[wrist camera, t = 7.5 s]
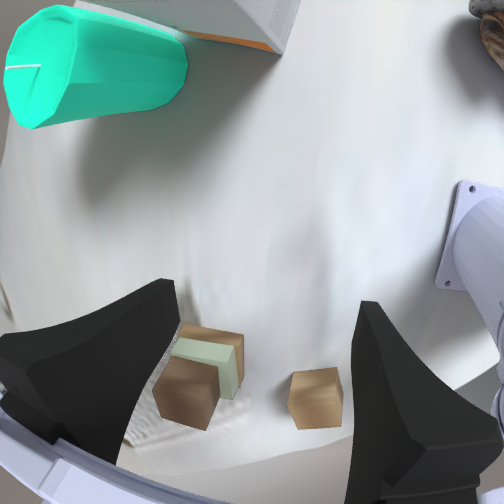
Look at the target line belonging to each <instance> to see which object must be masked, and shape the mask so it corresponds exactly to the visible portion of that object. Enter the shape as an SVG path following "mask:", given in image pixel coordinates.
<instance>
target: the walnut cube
mask: <svg viewBox="0 0 504 504" xmlns="http://www.w3.org/2000/svg"><path fill="white" fill-rule="evenodd" d="M152 392H153V395H154V398H155V401H156V404H157V407H158V410H159V412H160V415H161V417H162V418H165V419H168V420H171V421H174V422H177V423H180V424H183V425H187V426H190V427H193V428H197V429H200V430H204V431H206V429H207V427H208V424H209V422H210V420H211V417H212V415H213V412H214V410H215V407H216V405H217V402H218V400H219V398H220V385H219V372H218V367H217V366H213V365H208V364H204V363H200V362H196V361H192V360H188V359H184V358H180V357H176V356H172V357H171V359H170V361H169V362H168V364H167V366H166V367H165V369H164V371H163V372H162V374H161V376H160V377H159V379H158V381H157V382H156V384H155V386H154V387H153V389H152Z"/></svg>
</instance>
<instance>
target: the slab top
mask: <svg viewBox="0 0 504 504" xmlns="http://www.w3.org/2000/svg"><path fill="white" fill-rule="evenodd" d="M170 354H171V357H172V356H176V357H180V358H184V359H188V360H192V361H196V362H200V363H204V364H208V365H213V366H217V367H218V372H219V385H220V398H224V399H229V400H233V399H234V396H235V394H236V391H237V388H238V385H239V381H238V373H237V365H236V357H235V349H234V346H232V345H225V344H218V343H212V342H205V341H199V340H193V339H187V338H181V337H179V339H178V340H177V342H176V343H175V345H174V346H173V348H172V350H171V351H170Z"/></svg>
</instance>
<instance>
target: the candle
mask: <svg viewBox="0 0 504 504" xmlns="http://www.w3.org/2000/svg"><path fill="white" fill-rule="evenodd" d="M188 65H189V63H188V60H187V56H186V53H185V49H184V45H183V44H182V43H180V42H179V41H178V40H177V39H175V38H174V37H173V36H172V35H171V34H169V33H167V32H164V31H161V30H158V29H155V28H152V27H149V26H145V25H142V24H139V23H135V22H132V21H129V20H125V19H121V18H118V17H114V16H110V15H106V14H102V13H98V12H93V11H89V10H84V9H79V8H74V7H68V6H63V5H55V6H51V7H48V8H45V9H42V10H40V11H39V12H38V13H36V14H35V15H34V16H32V17H31V18H30V19H28V20H27V21H26V22H25V23H23V24H22V25H21V26H20V27H18V29H17V31H16V34H15V36H14V38H13V41H12V43H11V46H10V48H9V51H8V53H7V58H6V65H5V72H4V81H3V84H4V88H5V92H6V96H7V100H8V104H9V108H10V110H11V112H12V113H13V115H14V117H15V119H16V121H17V123H18V124H19V125H20V126H23V127H26V128H29V129H36V128H40V127H45V126H49V125H54V124H59V123H64V122H69V121H75V120H80V119H86V118H92V117H98V116H105V115H112V114H120V113H128V112H137V111H147V110H153V109H155V108H157V107H160V106H162V105H165V104H167V103H170V101H171V100H172V99H173V98H174V97H175V95H176V94H177V93H178V92H179V91H180V89H181V88H182V87H183V86H184V82H185V78H186V74H187V69H188Z"/></svg>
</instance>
